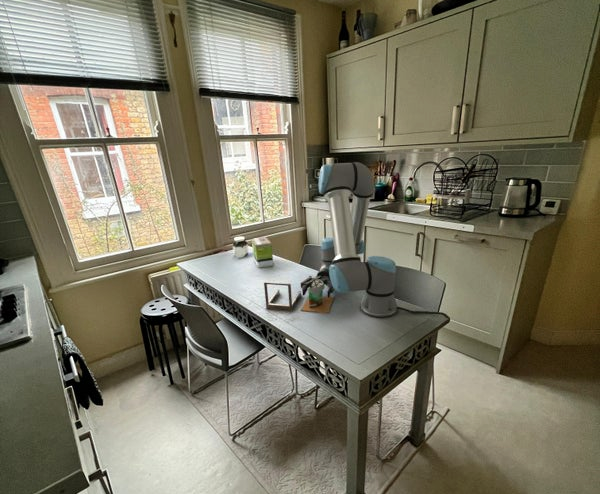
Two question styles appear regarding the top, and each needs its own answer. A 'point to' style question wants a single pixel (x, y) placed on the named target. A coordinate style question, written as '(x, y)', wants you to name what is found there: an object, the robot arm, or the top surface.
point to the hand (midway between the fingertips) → (315, 293)
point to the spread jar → (240, 247)
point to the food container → (316, 293)
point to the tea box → (262, 252)
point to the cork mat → (322, 308)
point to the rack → (278, 306)
